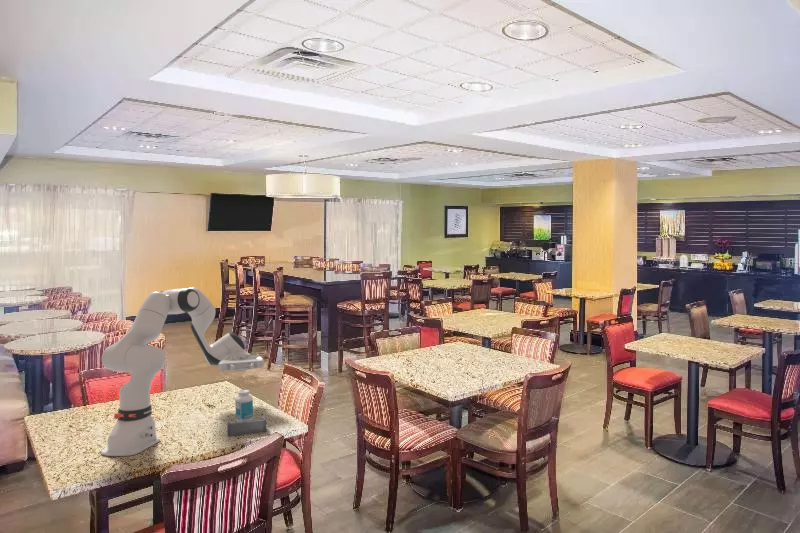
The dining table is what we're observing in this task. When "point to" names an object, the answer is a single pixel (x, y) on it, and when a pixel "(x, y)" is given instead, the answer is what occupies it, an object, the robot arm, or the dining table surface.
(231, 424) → the bracket
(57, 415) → the dining table surface
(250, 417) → the pill bottle
